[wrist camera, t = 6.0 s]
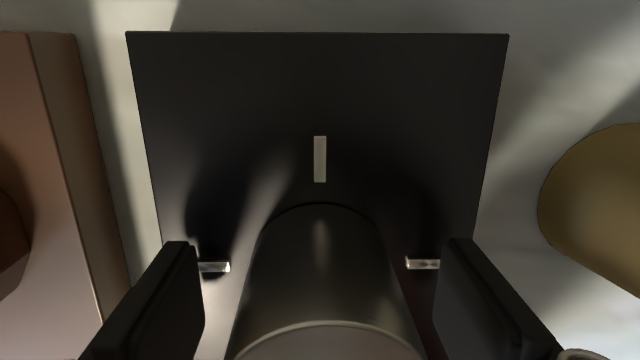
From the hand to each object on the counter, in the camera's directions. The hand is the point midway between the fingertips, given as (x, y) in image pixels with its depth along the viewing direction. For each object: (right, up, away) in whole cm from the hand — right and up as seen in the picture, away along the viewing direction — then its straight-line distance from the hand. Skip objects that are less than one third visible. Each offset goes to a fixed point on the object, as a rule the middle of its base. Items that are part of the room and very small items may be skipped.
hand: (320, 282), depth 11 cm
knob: (0, 0, +1) cm, 1 cm away
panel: (0, +1, +4) cm, 4 cm away
